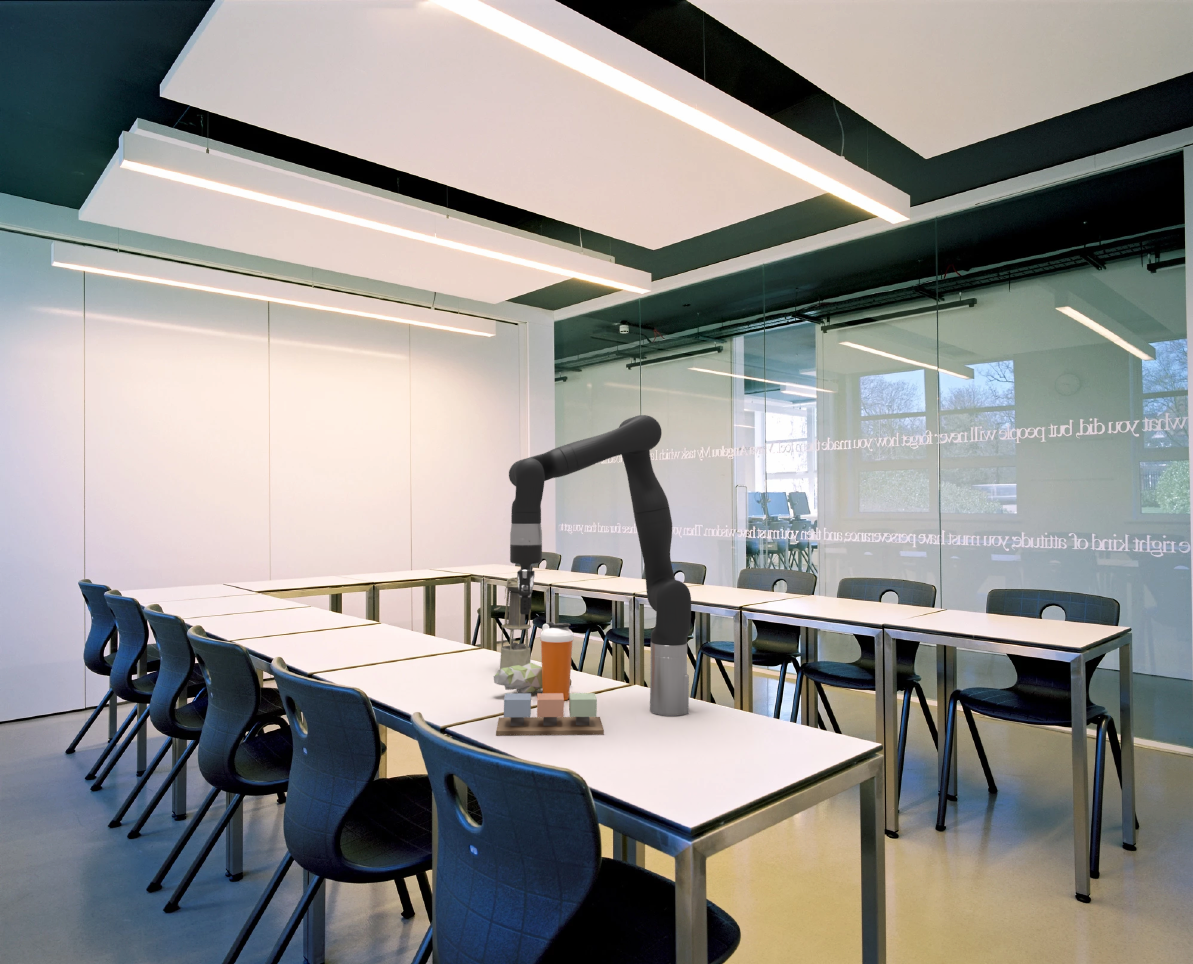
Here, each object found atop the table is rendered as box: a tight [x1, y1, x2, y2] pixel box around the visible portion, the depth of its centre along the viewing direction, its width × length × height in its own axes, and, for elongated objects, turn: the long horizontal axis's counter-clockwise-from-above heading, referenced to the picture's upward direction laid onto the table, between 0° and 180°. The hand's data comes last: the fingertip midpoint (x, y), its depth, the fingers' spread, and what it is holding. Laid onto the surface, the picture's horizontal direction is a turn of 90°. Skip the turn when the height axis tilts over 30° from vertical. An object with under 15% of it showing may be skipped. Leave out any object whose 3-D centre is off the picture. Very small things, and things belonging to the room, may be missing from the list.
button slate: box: [503, 692, 532, 717], centre depth 168 cm, size 6×6×4 cm
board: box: [495, 716, 605, 737], centre depth 168 cm, size 24×11×3 cm, turn 95°
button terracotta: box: [536, 692, 565, 717], centre depth 169 cm, size 6×6×4 cm
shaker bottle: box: [539, 621, 574, 702], centre depth 196 cm, size 9×9×20 cm
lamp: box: [493, 577, 532, 673], centre depth 226 cm, size 10×13×30 cm
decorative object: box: [493, 662, 572, 694], centre depth 202 cm, size 9×10×25 cm
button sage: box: [568, 692, 598, 717], centre depth 169 cm, size 6×6×4 cm
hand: (525, 611), depth 172 cm, fingers open, 8 cm apart
